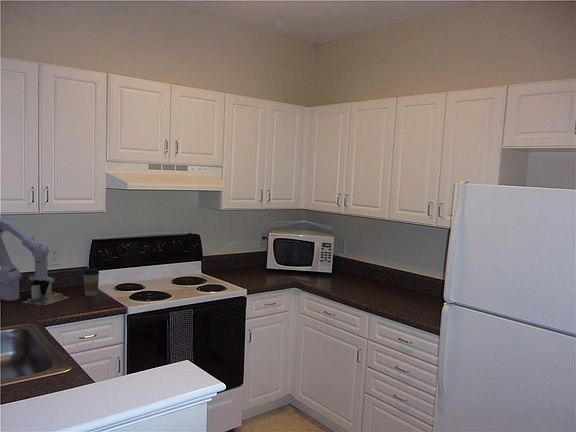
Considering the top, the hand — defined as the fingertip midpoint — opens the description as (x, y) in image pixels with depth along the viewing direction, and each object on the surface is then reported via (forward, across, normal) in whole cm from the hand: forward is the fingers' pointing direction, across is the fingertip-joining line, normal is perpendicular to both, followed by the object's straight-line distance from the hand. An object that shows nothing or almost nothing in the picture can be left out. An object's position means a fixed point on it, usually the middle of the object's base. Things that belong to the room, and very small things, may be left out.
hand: (41, 294), depth 247 cm
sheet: (+2, 0, 0) cm, 2 cm away
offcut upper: (+1, -8, 0) cm, 8 cm away
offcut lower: (+2, -8, 0) cm, 8 cm away
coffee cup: (+4, -17, -17) cm, 24 cm away
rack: (+3, -3, 0) cm, 5 cm away
